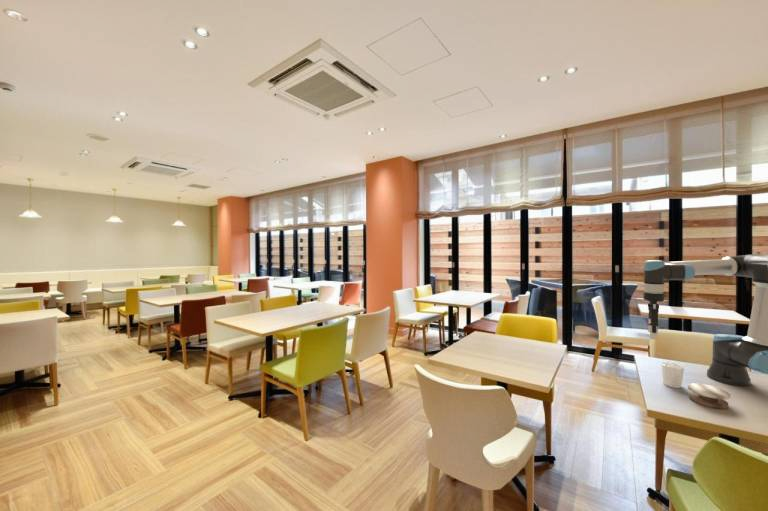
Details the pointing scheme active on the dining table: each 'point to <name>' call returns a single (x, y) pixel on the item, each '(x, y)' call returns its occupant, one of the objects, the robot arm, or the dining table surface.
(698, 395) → the cake stand
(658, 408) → the dining table surface
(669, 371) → the white cup
